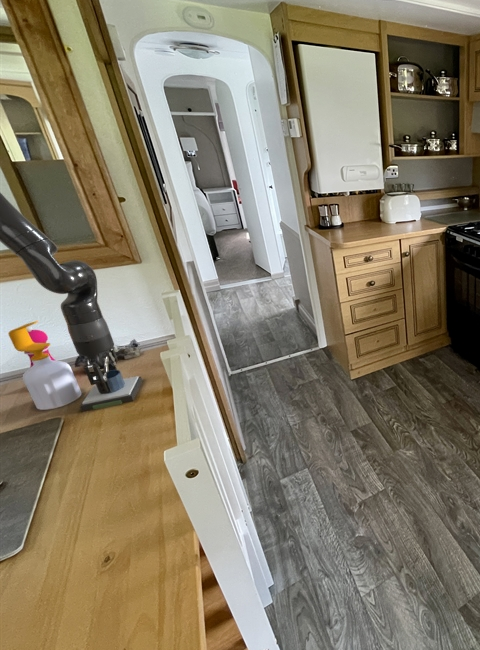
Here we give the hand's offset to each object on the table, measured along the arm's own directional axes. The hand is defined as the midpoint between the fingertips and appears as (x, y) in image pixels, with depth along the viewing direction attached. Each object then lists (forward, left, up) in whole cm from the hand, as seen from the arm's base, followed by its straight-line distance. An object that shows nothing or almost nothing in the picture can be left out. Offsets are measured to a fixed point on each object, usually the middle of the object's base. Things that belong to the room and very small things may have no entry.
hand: (110, 385), depth 108 cm
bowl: (0, 0, -1) cm, 1 cm away
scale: (0, 0, -4) cm, 4 cm away
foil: (-6, +24, -4) cm, 25 cm away
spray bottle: (-13, +4, -4) cm, 14 cm away
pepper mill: (-18, +15, -4) cm, 24 cm away
